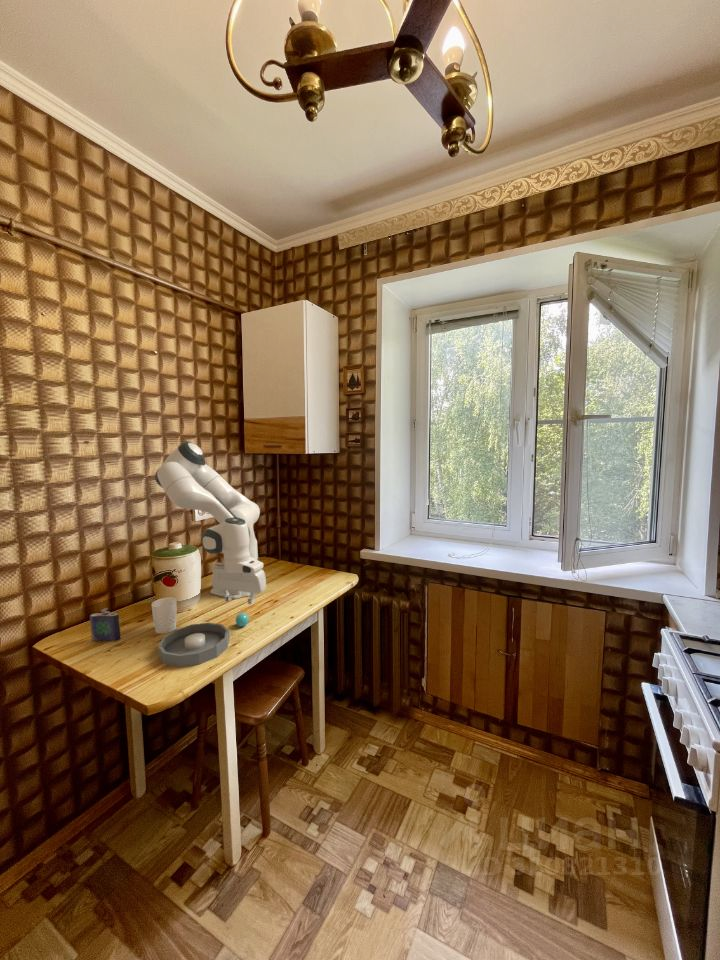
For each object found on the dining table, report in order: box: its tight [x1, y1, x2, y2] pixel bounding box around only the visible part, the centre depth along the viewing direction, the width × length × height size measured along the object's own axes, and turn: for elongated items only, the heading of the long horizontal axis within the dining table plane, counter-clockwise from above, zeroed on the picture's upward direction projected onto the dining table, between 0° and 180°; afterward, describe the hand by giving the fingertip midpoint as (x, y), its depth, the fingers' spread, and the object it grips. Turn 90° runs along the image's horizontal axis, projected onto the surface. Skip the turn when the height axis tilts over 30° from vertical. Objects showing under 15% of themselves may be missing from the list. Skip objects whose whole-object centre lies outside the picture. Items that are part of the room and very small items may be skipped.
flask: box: [89, 607, 122, 643], centre depth 128 cm, size 9×3×11 cm, turn 90°
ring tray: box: [157, 622, 230, 668], centre depth 122 cm, size 20×20×4 cm
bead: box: [235, 612, 249, 628], centre depth 136 cm, size 4×4×4 cm
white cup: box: [151, 597, 178, 635], centre depth 134 cm, size 8×8×10 cm
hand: (239, 602), depth 135 cm, fingers open, 8 cm apart
